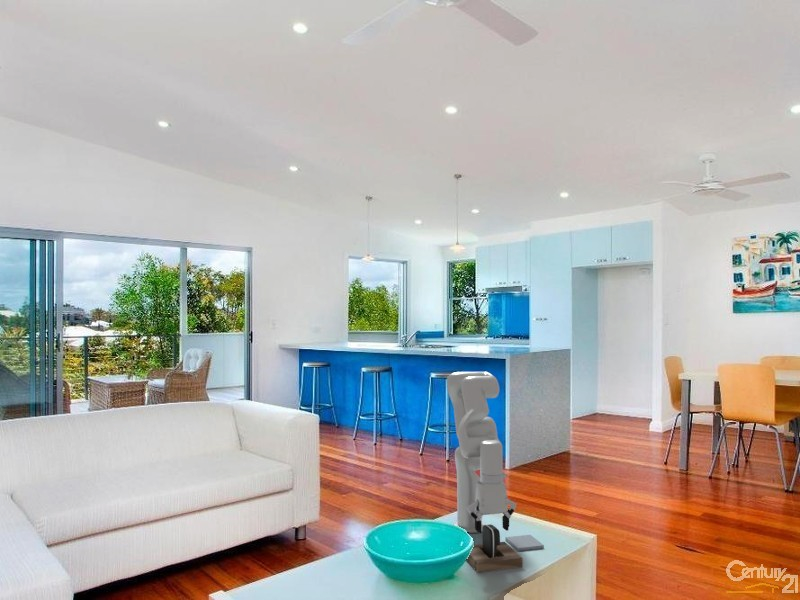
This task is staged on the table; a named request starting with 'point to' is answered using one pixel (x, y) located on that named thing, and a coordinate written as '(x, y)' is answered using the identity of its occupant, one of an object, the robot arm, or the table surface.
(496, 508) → the robot arm
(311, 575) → the table surface
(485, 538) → the battery charger
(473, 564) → the holder
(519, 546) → the tile
